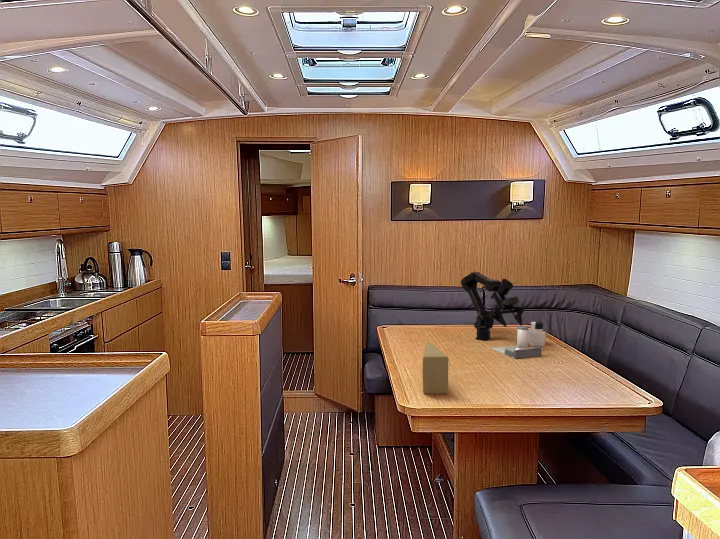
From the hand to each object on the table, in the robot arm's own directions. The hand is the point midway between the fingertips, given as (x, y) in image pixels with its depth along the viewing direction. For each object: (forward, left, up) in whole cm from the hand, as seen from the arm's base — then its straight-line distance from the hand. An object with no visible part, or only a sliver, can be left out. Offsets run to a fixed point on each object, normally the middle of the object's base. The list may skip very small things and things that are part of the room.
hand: (513, 325), depth 244 cm
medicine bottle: (+4, +21, -13) cm, 25 cm away
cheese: (-6, -69, -13) cm, 71 cm away
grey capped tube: (+6, -4, -13) cm, 15 cm away
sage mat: (-2, +1, -13) cm, 13 cm away
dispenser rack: (+6, -4, -13) cm, 15 cm away
